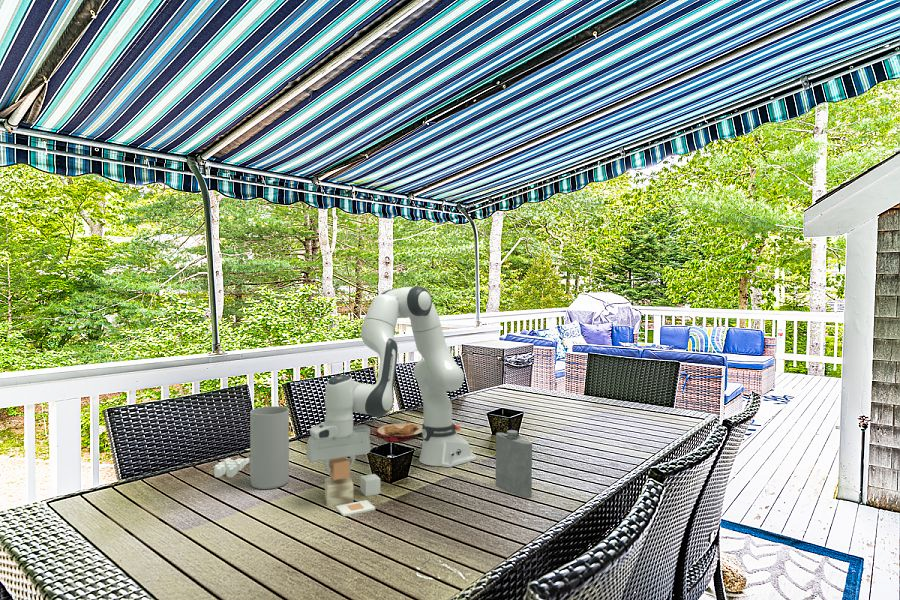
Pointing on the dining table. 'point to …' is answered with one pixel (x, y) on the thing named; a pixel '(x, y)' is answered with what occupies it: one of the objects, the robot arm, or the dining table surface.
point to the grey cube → (370, 485)
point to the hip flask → (514, 464)
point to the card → (355, 508)
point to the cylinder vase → (269, 447)
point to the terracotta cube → (340, 468)
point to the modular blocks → (230, 467)
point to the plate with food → (398, 431)
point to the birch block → (338, 491)
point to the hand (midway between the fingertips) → (339, 471)
